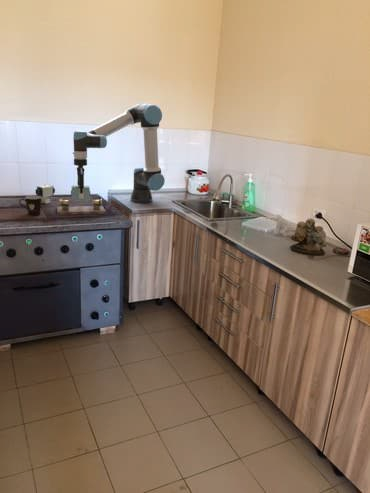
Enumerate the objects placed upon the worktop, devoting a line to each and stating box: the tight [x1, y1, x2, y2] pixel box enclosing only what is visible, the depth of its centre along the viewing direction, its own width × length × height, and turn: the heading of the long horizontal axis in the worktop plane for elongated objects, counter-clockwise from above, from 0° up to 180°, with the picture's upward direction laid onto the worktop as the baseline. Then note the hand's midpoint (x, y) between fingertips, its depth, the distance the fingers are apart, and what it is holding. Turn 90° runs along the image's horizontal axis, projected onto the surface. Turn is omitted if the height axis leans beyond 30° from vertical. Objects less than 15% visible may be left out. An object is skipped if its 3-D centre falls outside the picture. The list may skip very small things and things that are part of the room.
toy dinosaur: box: [265, 213, 297, 237], centre depth 235 cm, size 7×24×11 cm, turn 65°
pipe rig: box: [58, 198, 103, 210], centre depth 255 cm, size 25×4×6 cm, turn 109°
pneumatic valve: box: [35, 183, 56, 205], centre depth 269 cm, size 6×12×12 cm, turn 146°
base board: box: [55, 205, 107, 216], centre depth 256 cm, size 28×13×2 cm, turn 109°
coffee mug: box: [18, 195, 42, 217], centre depth 242 cm, size 12×9×10 cm
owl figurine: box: [289, 217, 327, 257], centre depth 210 cm, size 18×12×17 cm, turn 78°
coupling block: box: [70, 185, 91, 202], centre depth 253 cm, size 11×5×8 cm, turn 109°
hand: (80, 197), depth 254 cm, fingers closed on coupling block, 5 cm apart
